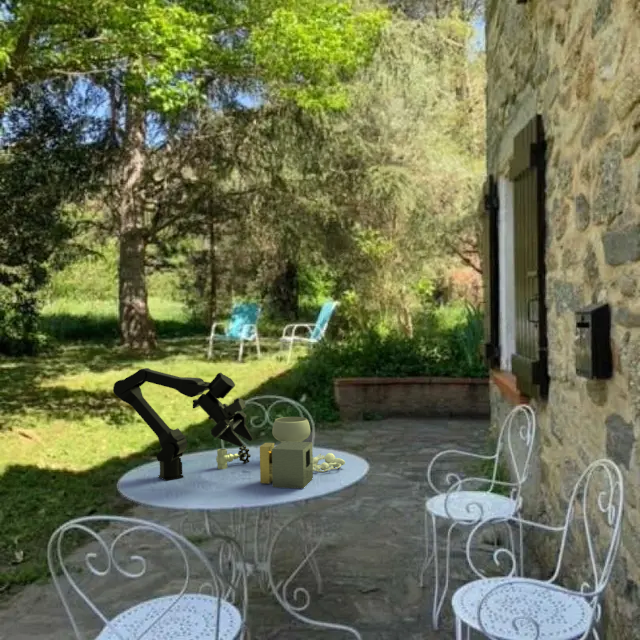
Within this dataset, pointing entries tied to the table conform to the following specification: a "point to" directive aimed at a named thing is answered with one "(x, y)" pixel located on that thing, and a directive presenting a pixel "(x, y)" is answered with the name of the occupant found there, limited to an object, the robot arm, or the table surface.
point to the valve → (231, 457)
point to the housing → (292, 464)
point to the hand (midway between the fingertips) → (247, 442)
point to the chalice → (291, 429)
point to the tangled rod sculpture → (328, 459)
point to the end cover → (266, 462)
